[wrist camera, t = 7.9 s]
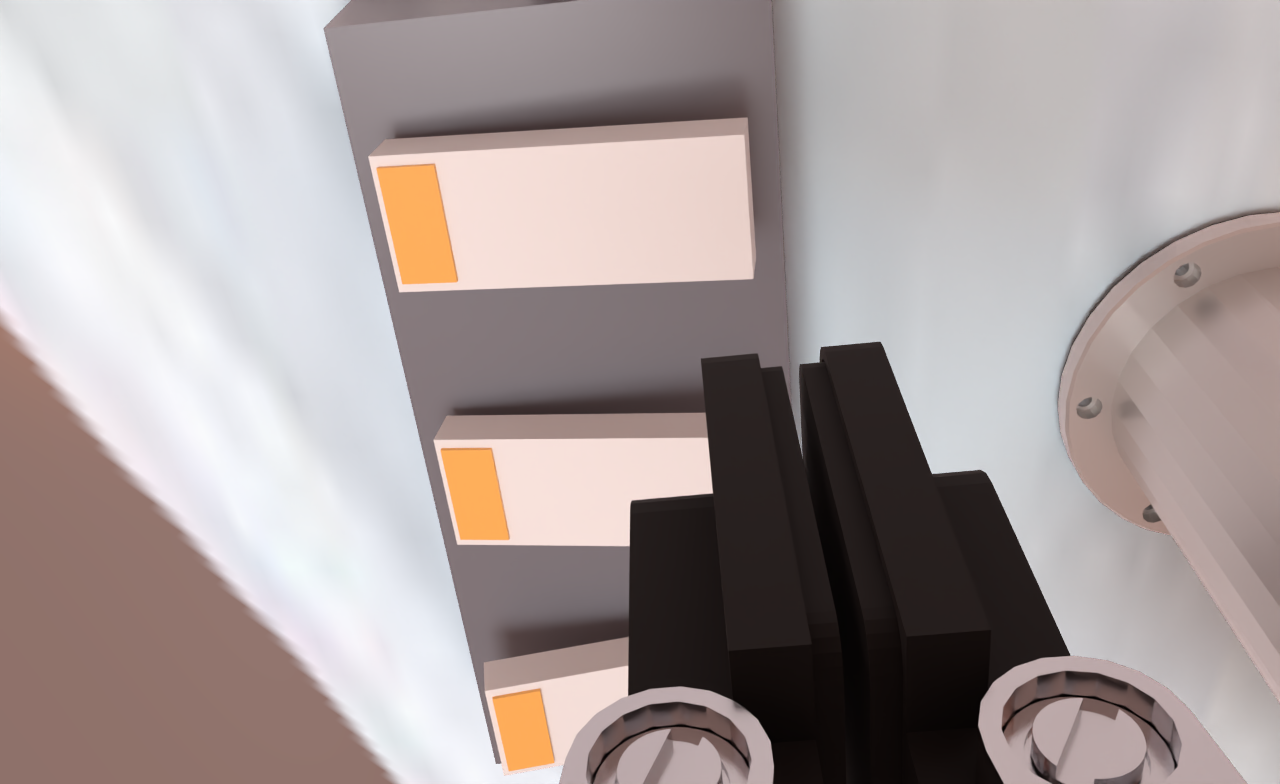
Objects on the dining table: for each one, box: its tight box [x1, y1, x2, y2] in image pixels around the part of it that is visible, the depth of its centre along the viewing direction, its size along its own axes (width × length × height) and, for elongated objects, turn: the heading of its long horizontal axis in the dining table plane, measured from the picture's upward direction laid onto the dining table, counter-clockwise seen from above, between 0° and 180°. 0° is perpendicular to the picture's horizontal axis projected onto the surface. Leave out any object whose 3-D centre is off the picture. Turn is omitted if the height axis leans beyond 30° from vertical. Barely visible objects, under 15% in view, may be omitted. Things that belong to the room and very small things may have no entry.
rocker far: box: [484, 637, 629, 776], centre depth 41 cm, size 10×4×2 cm, turn 96°
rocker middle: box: [434, 413, 713, 546], centre depth 37 cm, size 10×4×2 cm, turn 96°
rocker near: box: [368, 117, 756, 292], centre depth 32 cm, size 10×4×2 cm, turn 96°
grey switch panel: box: [324, 0, 792, 764], centre depth 39 cm, size 12×32×4 cm, turn 6°
